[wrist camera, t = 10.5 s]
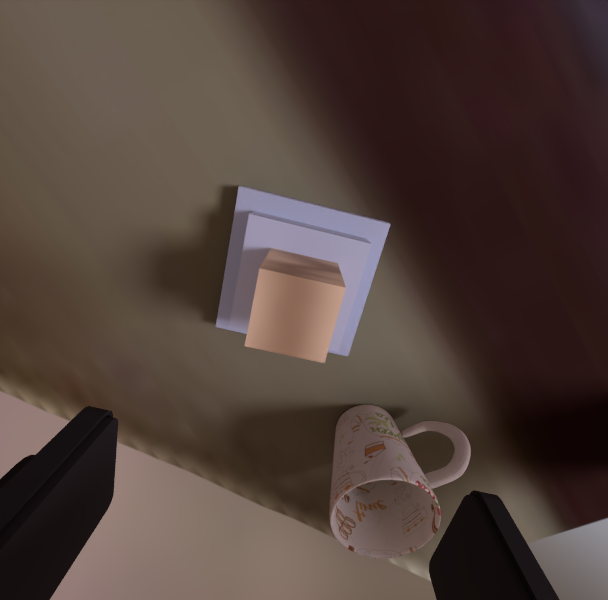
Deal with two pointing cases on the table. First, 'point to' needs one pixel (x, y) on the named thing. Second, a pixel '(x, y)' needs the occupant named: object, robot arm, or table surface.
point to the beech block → (295, 305)
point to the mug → (386, 483)
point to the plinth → (310, 216)
